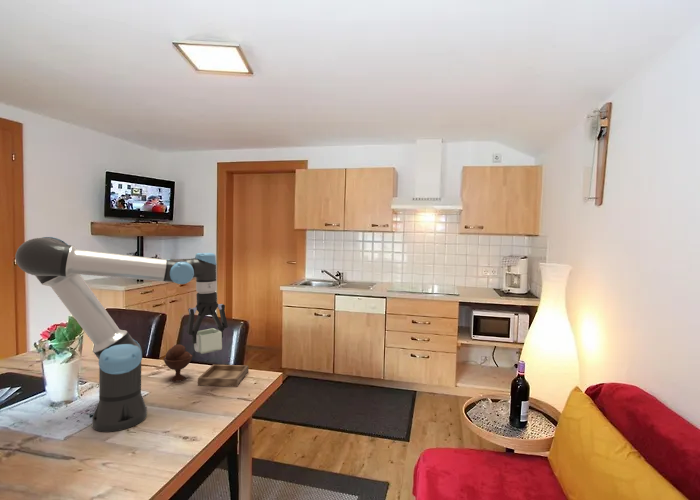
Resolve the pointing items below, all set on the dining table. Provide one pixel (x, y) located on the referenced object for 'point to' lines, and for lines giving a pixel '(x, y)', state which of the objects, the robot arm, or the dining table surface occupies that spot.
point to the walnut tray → (223, 375)
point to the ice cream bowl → (177, 360)
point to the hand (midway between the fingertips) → (208, 348)
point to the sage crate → (209, 340)
